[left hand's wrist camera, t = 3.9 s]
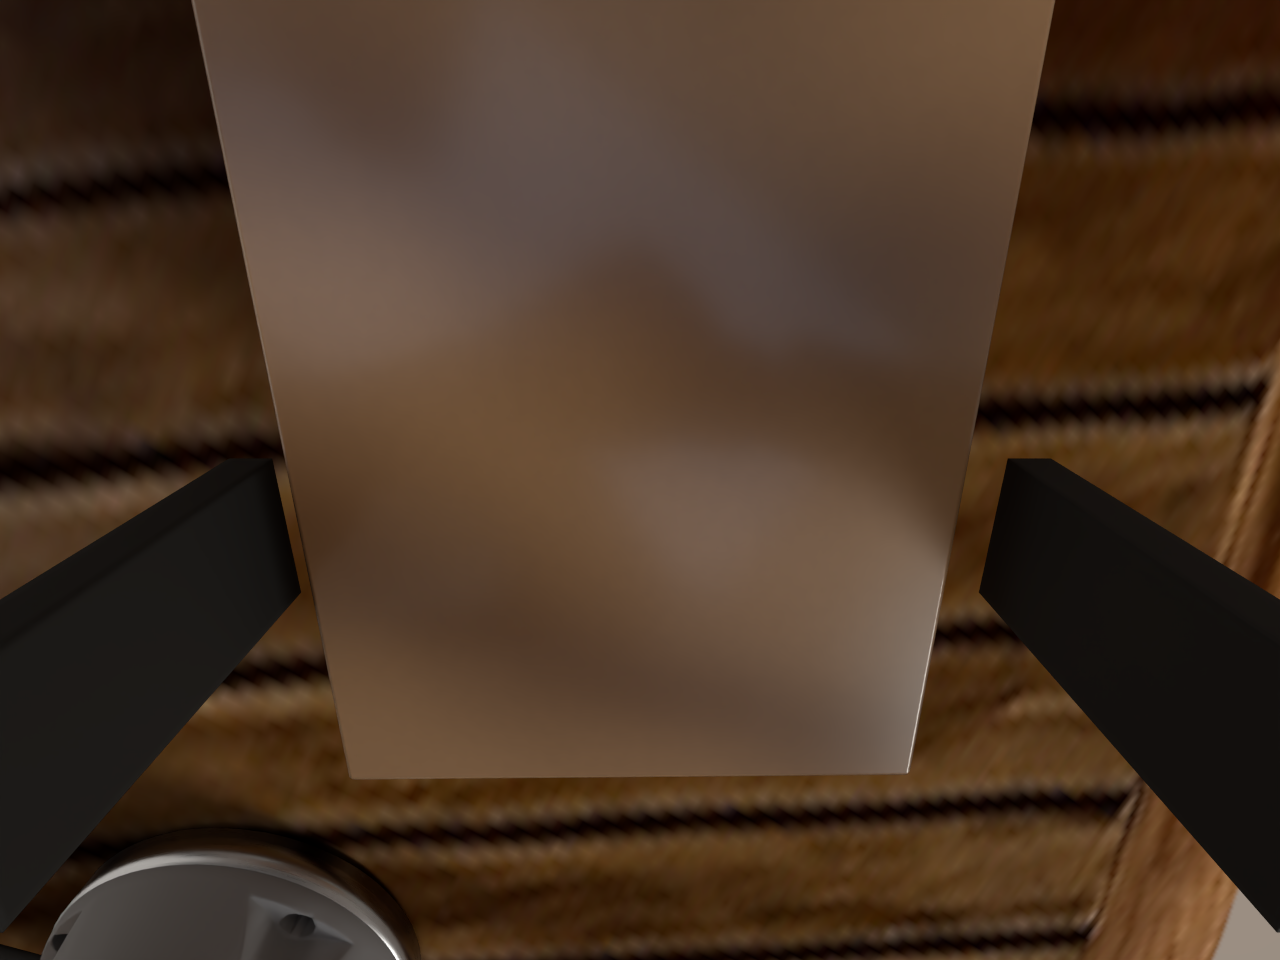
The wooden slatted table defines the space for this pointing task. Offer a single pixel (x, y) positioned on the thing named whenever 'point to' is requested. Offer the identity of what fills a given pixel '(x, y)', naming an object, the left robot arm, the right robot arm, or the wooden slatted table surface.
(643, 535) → the cabinet
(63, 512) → the wooden slatted table surface
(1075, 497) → the left robot arm
